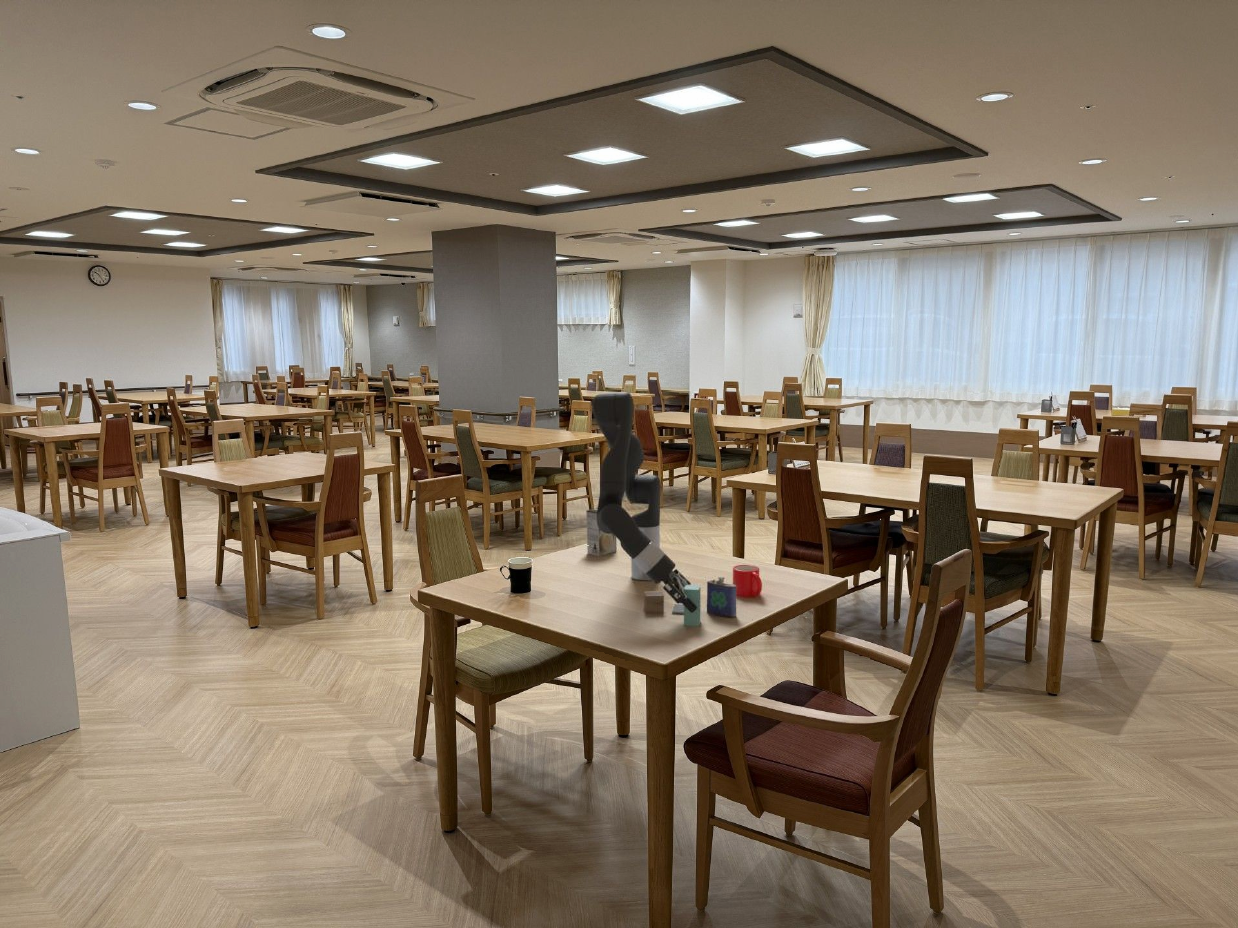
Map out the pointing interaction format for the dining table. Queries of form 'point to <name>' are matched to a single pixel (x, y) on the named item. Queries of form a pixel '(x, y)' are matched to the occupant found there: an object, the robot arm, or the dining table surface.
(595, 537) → the coffee box
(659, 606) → the walnut block
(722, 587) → the flask
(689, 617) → the teal post
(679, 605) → the slate coaster
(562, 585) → the dining table surface
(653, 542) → the robot arm
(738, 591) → the mug
